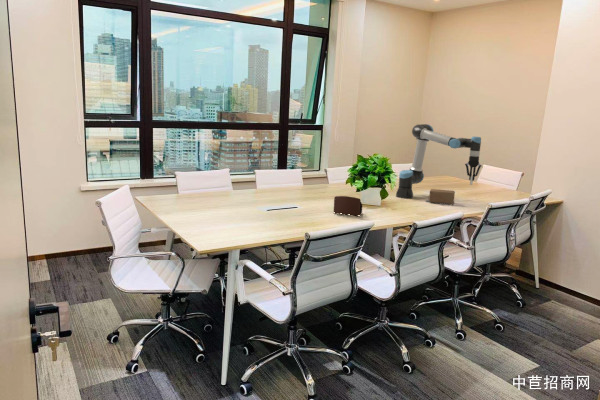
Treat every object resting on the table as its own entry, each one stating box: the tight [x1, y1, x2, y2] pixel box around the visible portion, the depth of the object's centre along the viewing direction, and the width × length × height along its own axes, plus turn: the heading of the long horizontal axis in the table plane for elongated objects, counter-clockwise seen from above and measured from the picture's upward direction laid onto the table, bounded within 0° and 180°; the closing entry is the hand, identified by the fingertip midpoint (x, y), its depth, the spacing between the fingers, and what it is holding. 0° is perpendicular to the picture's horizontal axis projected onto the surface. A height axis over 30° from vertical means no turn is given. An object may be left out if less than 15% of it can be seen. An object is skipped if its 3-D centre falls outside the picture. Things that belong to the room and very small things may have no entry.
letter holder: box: [333, 195, 363, 216], centre depth 345 cm, size 10×20×14 cm, turn 71°
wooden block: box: [428, 188, 456, 205], centre depth 391 cm, size 10×10×20 cm
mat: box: [425, 198, 451, 206], centre depth 397 cm, size 20×16×1 cm
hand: (471, 184), depth 381 cm, fingers closed
